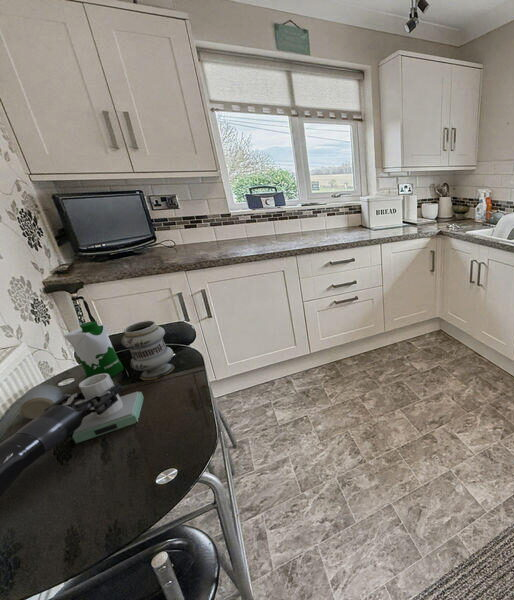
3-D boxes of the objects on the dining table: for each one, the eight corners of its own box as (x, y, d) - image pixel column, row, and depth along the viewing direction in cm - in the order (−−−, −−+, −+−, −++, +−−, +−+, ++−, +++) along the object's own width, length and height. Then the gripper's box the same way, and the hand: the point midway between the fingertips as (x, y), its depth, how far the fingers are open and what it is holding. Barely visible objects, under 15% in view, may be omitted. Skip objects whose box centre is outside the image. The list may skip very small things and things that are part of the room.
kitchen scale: (75, 444, 83) (70, 435, 82) (89, 415, 94) (85, 406, 93) (137, 423, 89) (133, 414, 88) (143, 397, 100) (140, 389, 99)
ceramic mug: (25, 425, 92) (12, 403, 89) (32, 411, 98) (20, 389, 95) (75, 409, 98) (64, 387, 95) (79, 396, 104) (69, 375, 101)
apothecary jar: (143, 386, 106) (122, 337, 100) (132, 375, 113) (111, 329, 107) (183, 368, 115) (166, 322, 108) (170, 359, 122) (154, 315, 115)
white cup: (91, 421, 87) (75, 390, 83) (97, 408, 92) (82, 378, 88) (120, 411, 90) (106, 381, 86) (124, 400, 95) (111, 370, 91)
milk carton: (107, 382, 110) (82, 329, 103) (82, 383, 111) (55, 330, 104) (128, 367, 119) (106, 317, 111) (105, 368, 119) (82, 319, 112)
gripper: (71, 415, 74) (126, 373, 89) (8, 420, 74) (75, 377, 89) (85, 440, 77) (136, 396, 92) (25, 445, 77) (86, 400, 92)
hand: (106, 387), depth 91 cm, fingers open, 7 cm apart
